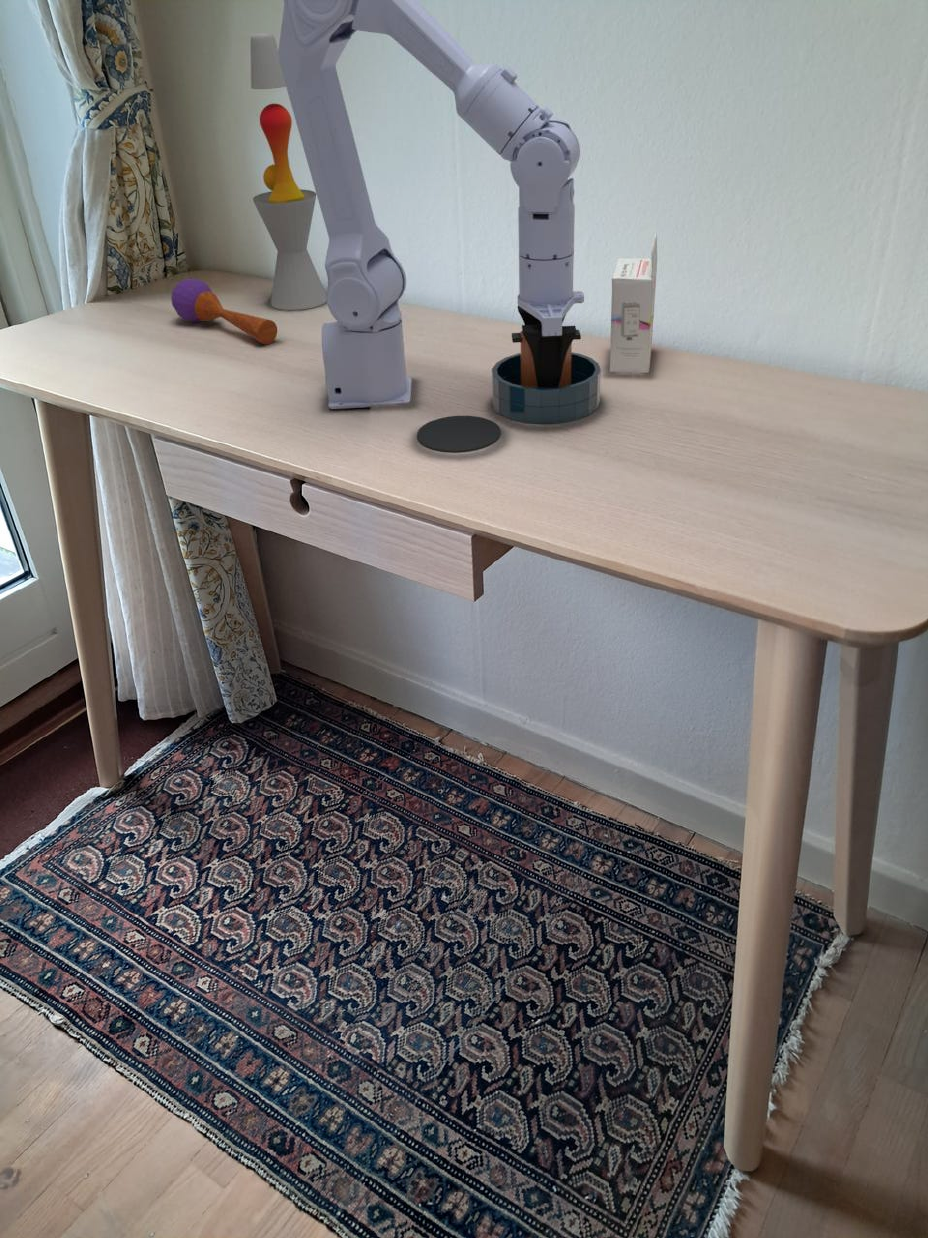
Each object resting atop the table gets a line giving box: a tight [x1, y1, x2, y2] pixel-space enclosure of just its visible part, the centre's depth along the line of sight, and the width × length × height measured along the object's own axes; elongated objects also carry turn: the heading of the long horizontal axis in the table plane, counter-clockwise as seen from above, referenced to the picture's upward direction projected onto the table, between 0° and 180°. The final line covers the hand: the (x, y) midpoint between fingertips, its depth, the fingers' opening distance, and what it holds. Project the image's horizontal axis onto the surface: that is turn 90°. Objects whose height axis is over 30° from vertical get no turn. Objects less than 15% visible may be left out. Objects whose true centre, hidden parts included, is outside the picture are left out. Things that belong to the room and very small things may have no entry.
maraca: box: [170, 278, 278, 346], centre depth 138 cm, size 6×6×20 cm
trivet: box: [416, 415, 502, 454], centre depth 106 cm, size 9×9×1 cm
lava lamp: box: [250, 32, 327, 311], centre depth 139 cm, size 9×9×35 cm
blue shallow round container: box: [491, 352, 602, 425], centre depth 111 cm, size 12×12×4 cm
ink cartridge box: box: [609, 232, 658, 374], centre depth 117 cm, size 9×5×15 cm, turn 168°
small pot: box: [511, 329, 582, 388], centre depth 109 cm, size 7×6×8 cm
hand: (545, 378), depth 110 cm, fingers closed on small pot, 5 cm apart
